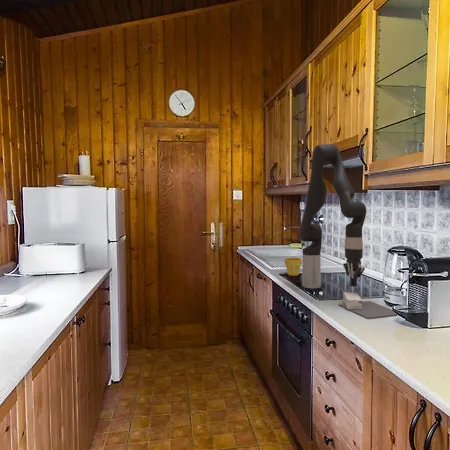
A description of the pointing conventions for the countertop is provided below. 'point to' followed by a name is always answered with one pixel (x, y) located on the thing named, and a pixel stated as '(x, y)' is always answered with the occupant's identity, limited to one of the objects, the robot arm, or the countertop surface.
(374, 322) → the countertop surface
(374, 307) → the mat
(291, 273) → the plant pot
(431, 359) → the countertop surface
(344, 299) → the skincare box
